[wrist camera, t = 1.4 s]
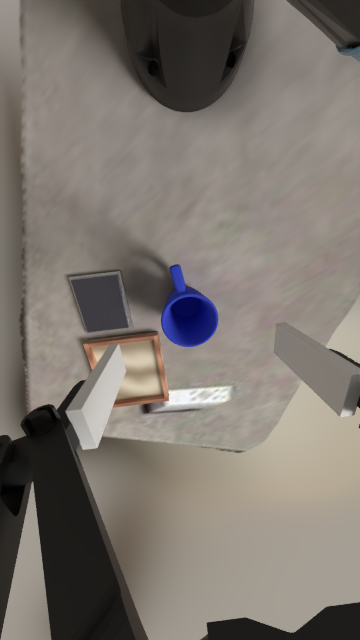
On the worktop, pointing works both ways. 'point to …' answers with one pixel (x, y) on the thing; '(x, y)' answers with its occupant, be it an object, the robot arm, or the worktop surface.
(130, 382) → the sand box
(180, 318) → the mug
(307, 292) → the worktop surface
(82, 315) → the ink pad
